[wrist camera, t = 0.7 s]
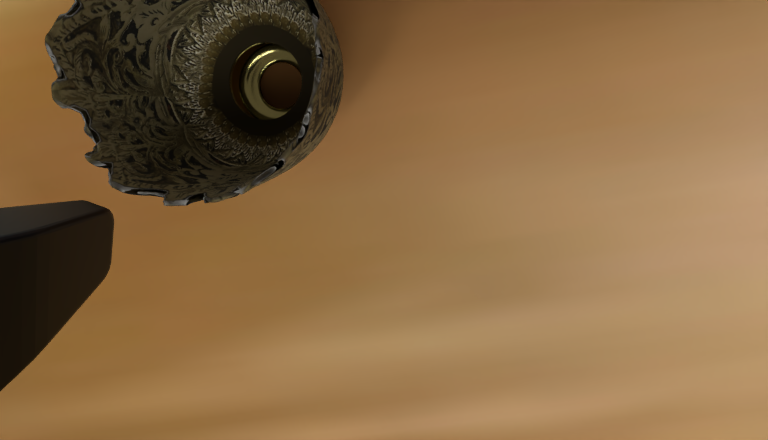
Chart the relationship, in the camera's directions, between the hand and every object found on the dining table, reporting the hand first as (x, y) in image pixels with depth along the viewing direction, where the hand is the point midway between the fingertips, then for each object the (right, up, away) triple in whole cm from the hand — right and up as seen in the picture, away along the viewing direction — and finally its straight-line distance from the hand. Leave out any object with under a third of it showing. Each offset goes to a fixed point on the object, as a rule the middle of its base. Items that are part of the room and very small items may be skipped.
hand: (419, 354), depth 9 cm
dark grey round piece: (-4, +7, +17) cm, 18 cm away
